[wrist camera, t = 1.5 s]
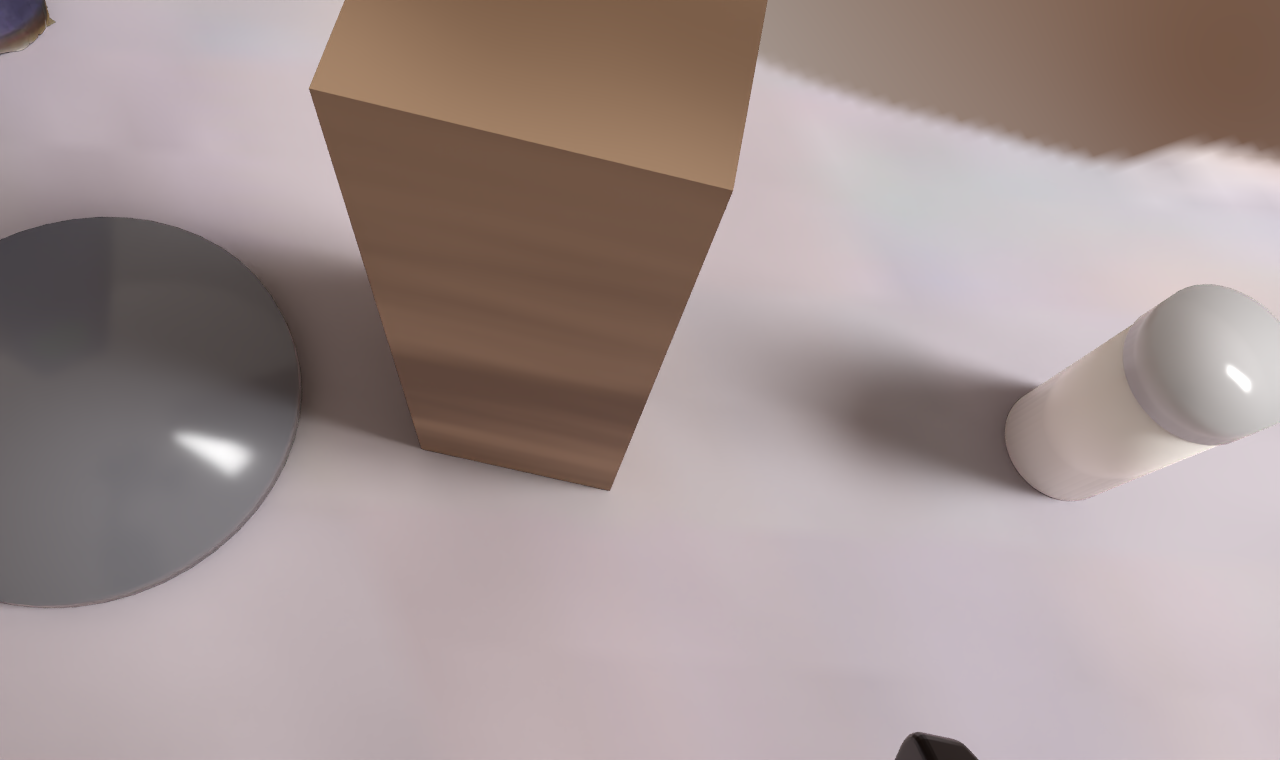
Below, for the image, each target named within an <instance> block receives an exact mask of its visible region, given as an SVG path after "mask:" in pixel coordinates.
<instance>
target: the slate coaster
mask: <svg viewBox="0 0 1280 760" xmlns="http://www.w3.org/2000/svg"><path fill="white" fill-rule="evenodd" d="M301 397H302V385H301V369H300V364H299V360H298V355H297V350H296V346H295V343H294V341H293V338H292V335H291V333H290V330H289V327H288V325H287V323H286V321H285V320H284V318H283V316H282V314H281V312H280V311H279V309H278V307H277V305H276V303H275V302H274V300H273V298H272V296H271V295H270V293H269V292H268V291H267V290H266V288H265V287H264V286H263V284H262V283H261V282H260V281H259V279H258V278H257V277H256V276H255V275H254V274H253V273H252V272H251V271H250V270H249V269H248V268H247V267H246V266H245V265H244V264H243V263H241V262H240V261H239V260H238V259H236V258H235V257H234V256H232V255H231V254H229V253H228V252H227V251H225V250H224V249H223V248H221V247H219V246H217V245H216V244H214V243H212V242H210V241H208V240H206V239H204V238H203V237H201V236H198V235H196V234H193V233H191V232H188V231H185V230H183V229H180V228H178V227H174V226H170V225H166V224H162V223H158V222H154V221H148V220H141V219H133V218H120V217H95V218H83V219H72V220H67V221H61V222H56V223H51V224H46V225H42V226H39V227H35V228H32V229H29V230H25V231H22V232H19V233H16V234H14V235H11V236H9V237H6V238H4V239H1V240H0V602H3V603H7V604H12V605H17V606H28V607H38V608H65V607H80V606H86V605H93V604H99V603H106V602H109V601H113V600H117V599H120V598H124V597H128V596H131V595H135V594H137V593H140V592H142V591H145V590H147V589H150V588H152V587H155V586H157V585H160V584H162V583H165V582H166V581H168V580H170V579H172V578H174V577H176V576H178V575H179V574H181V573H183V572H185V571H187V570H189V569H190V568H192V567H193V566H195V565H196V564H198V563H199V562H201V561H202V560H204V559H205V558H206V557H208V556H209V555H211V554H212V553H214V552H215V551H216V550H217V549H219V548H220V547H221V546H222V545H223V544H224V543H225V542H227V541H228V540H229V539H230V538H231V537H232V536H233V535H234V534H236V533H237V532H238V531H239V530H240V529H241V527H242V526H243V525H244V524H245V523H246V522H247V521H248V520H249V519H250V517H251V516H252V515H253V514H254V513H255V512H256V511H257V509H258V508H259V507H260V505H261V504H262V502H263V501H264V500H265V498H266V497H267V495H268V494H269V492H270V491H271V490H272V488H273V486H274V485H275V483H276V481H277V479H278V477H279V475H280V473H281V471H282V470H283V468H284V466H285V464H286V461H287V458H288V456H289V453H290V450H291V448H292V445H293V442H294V440H295V435H296V431H297V426H298V422H299V418H300V409H301Z"/></svg>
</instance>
